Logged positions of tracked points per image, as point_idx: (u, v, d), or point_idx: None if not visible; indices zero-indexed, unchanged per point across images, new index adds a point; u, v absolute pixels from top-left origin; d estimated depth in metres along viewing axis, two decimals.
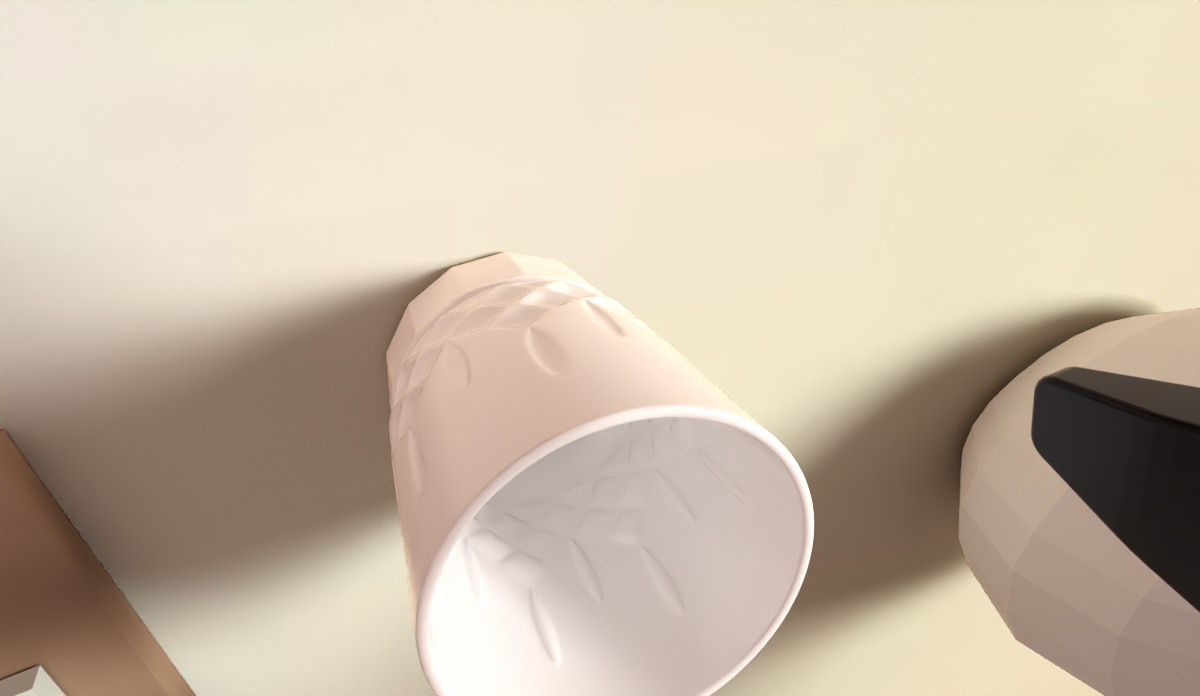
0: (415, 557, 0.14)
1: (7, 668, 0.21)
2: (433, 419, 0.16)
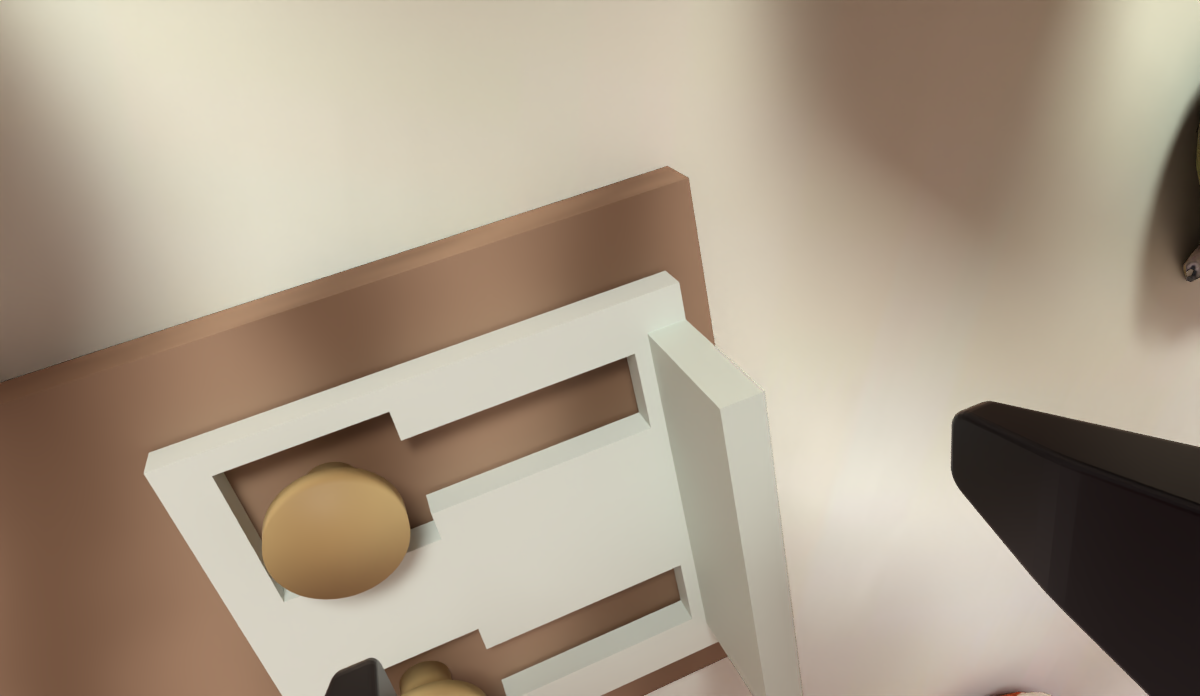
0: None
1: None
2: None
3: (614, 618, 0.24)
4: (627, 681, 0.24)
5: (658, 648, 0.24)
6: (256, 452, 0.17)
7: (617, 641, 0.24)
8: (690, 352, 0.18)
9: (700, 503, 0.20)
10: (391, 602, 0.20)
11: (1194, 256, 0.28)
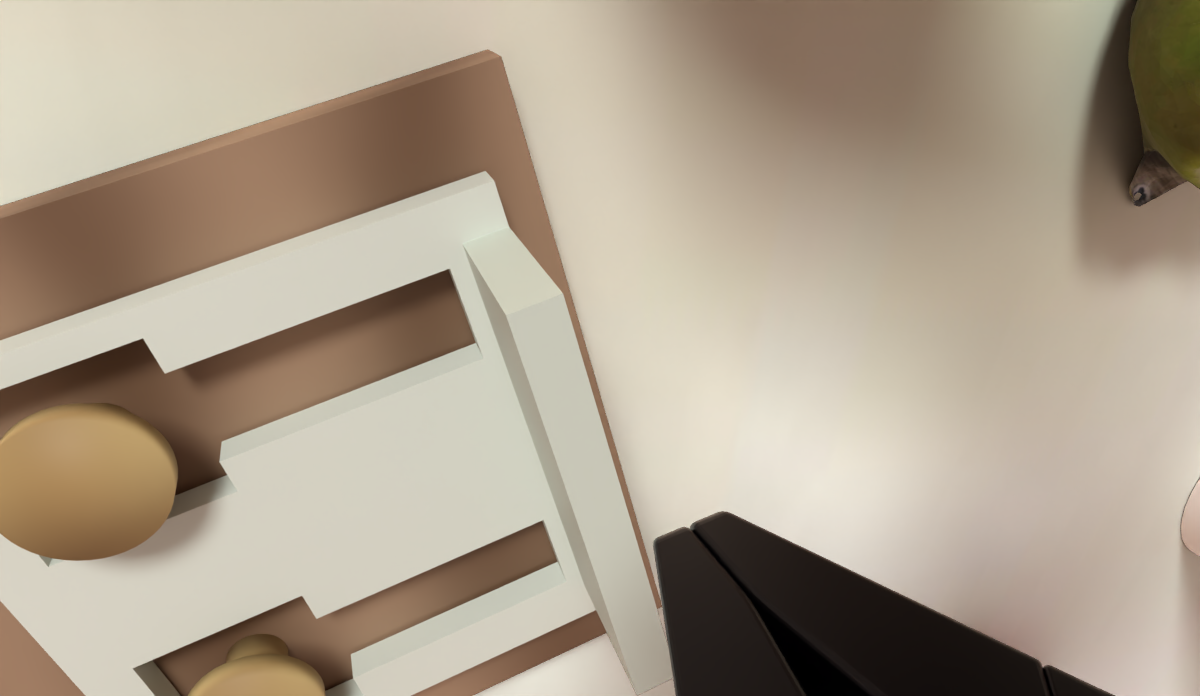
0: None
1: None
2: None
3: (480, 583, 0.21)
4: (496, 653, 0.21)
5: (529, 615, 0.21)
6: None
7: (482, 609, 0.21)
8: (499, 259, 0.15)
9: (539, 443, 0.17)
10: (186, 566, 0.17)
11: (1141, 177, 0.25)
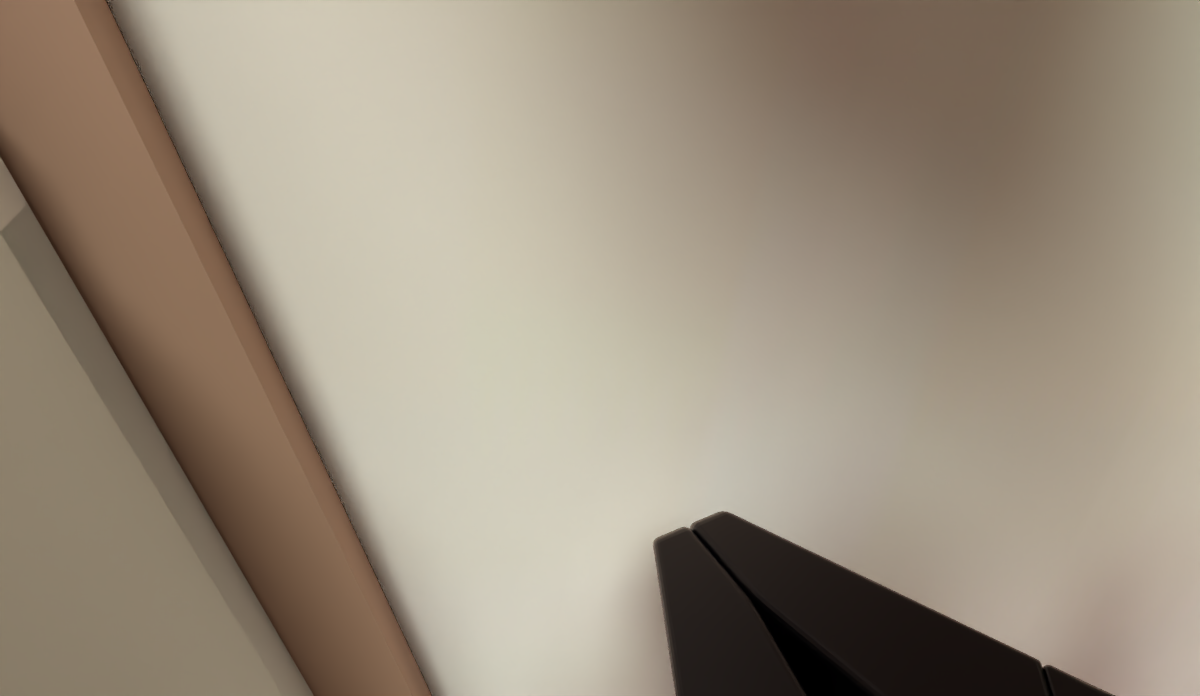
0: None
1: None
2: None
3: None
4: None
5: None
6: None
7: None
8: None
9: None
10: None
11: None
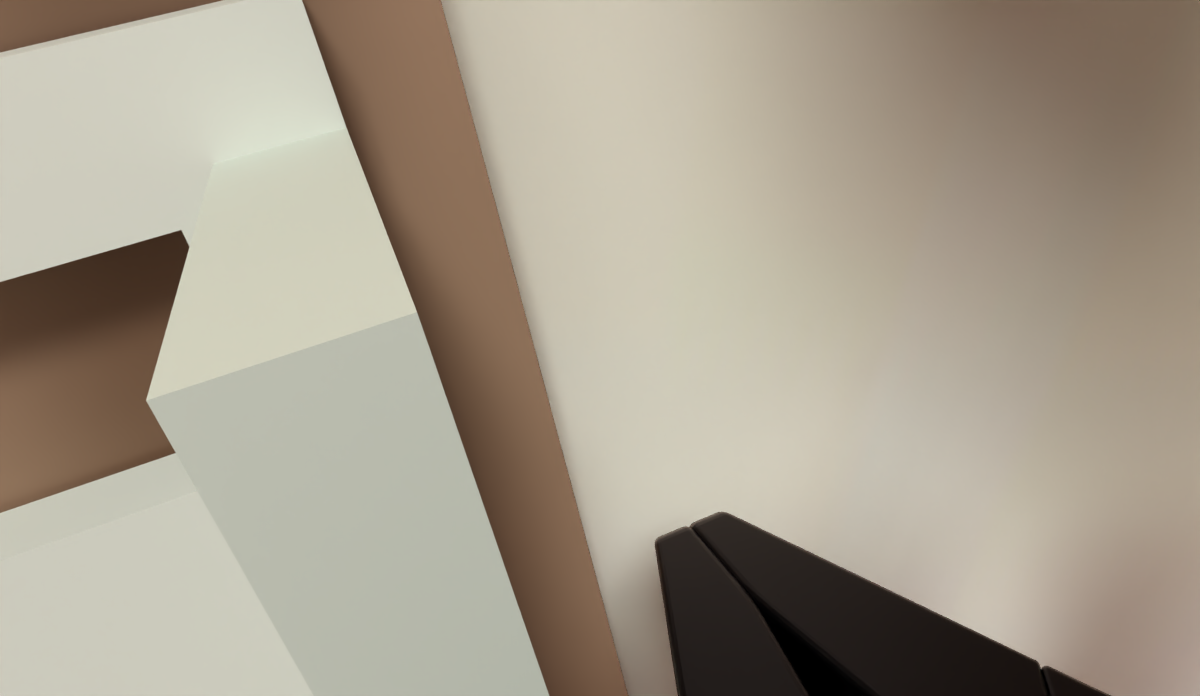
0: None
1: None
2: None
3: None
4: None
5: None
6: None
7: None
8: (272, 197, 0.05)
9: None
10: None
11: None
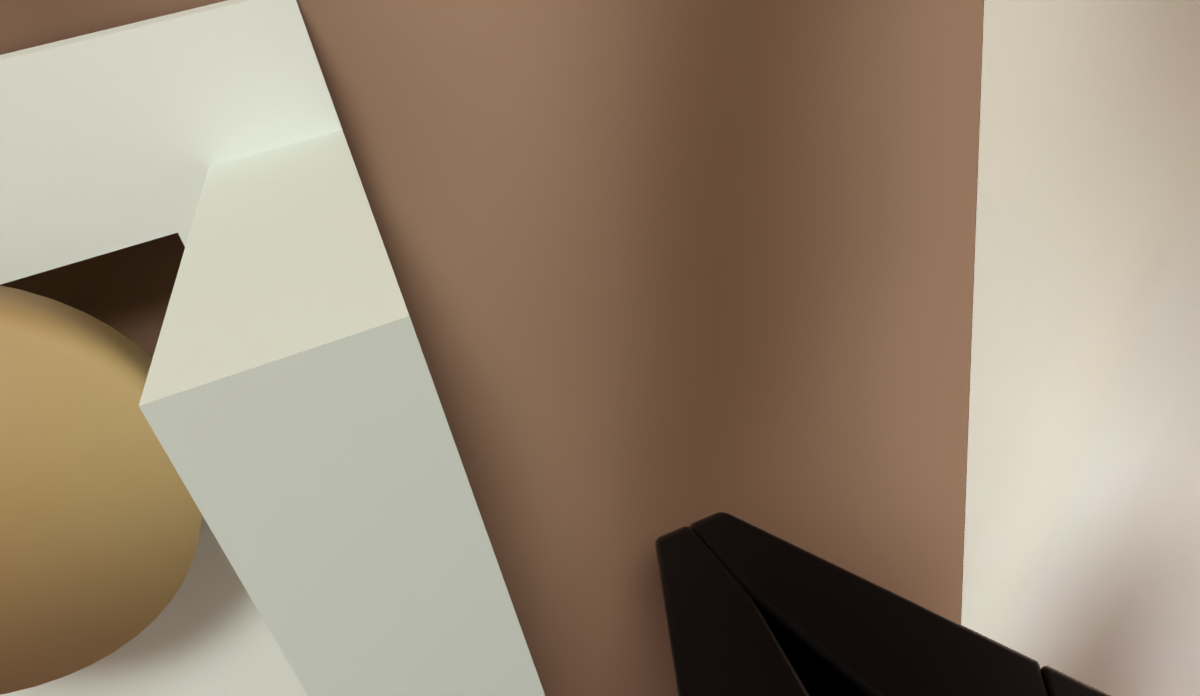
0: None
1: None
2: None
3: None
4: None
5: None
6: None
7: None
8: (267, 199, 0.05)
9: None
10: None
11: None
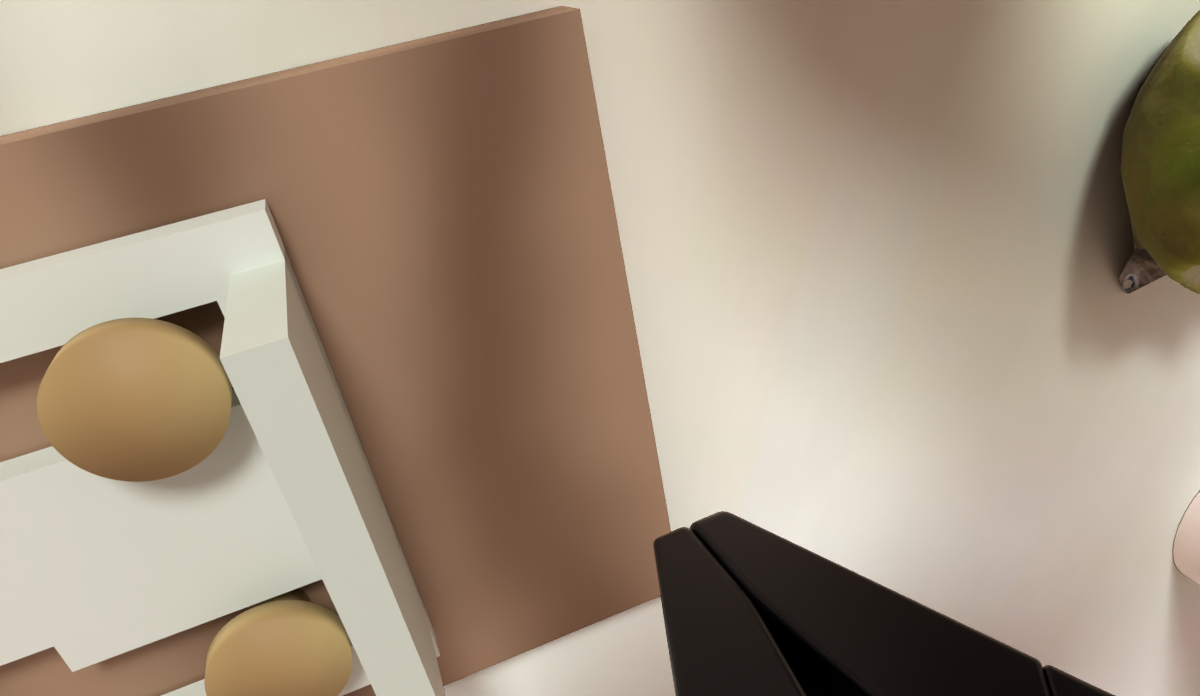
0: None
1: None
2: None
3: (507, 548, 0.21)
4: None
5: None
6: None
7: None
8: (253, 294, 0.14)
9: None
10: None
11: (1131, 267, 0.27)
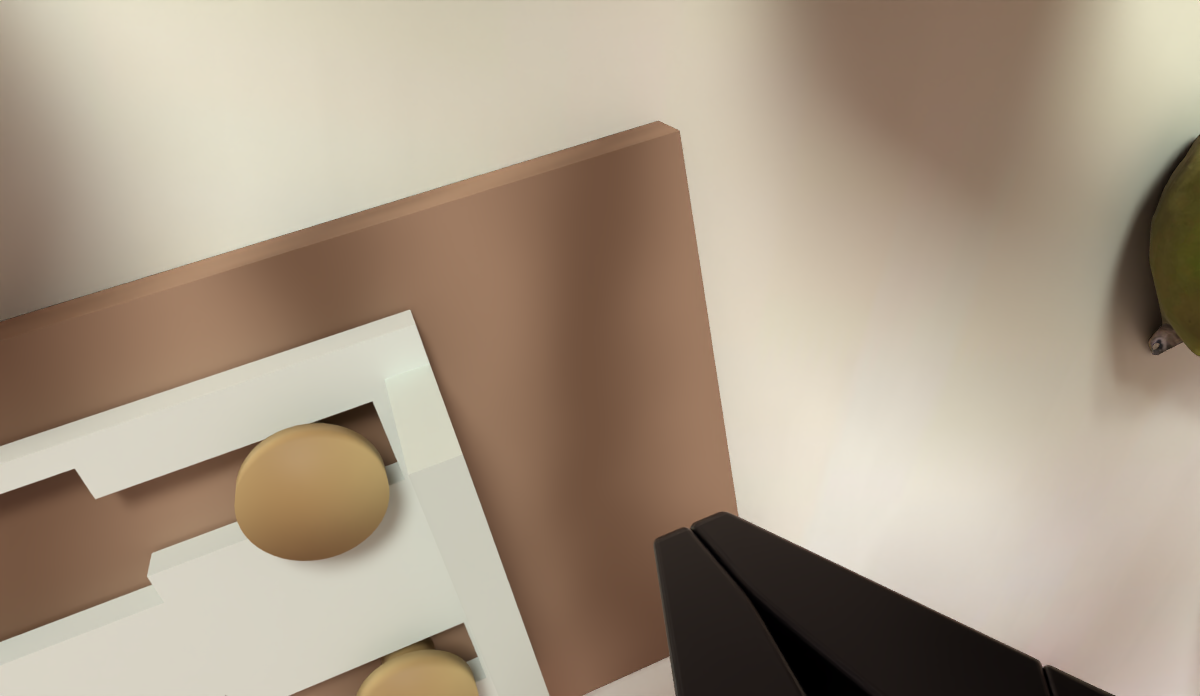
0: None
1: None
2: None
3: (603, 591, 0.24)
4: None
5: None
6: None
7: None
8: (414, 404, 0.16)
9: None
10: (113, 670, 0.18)
11: (1159, 332, 0.29)
